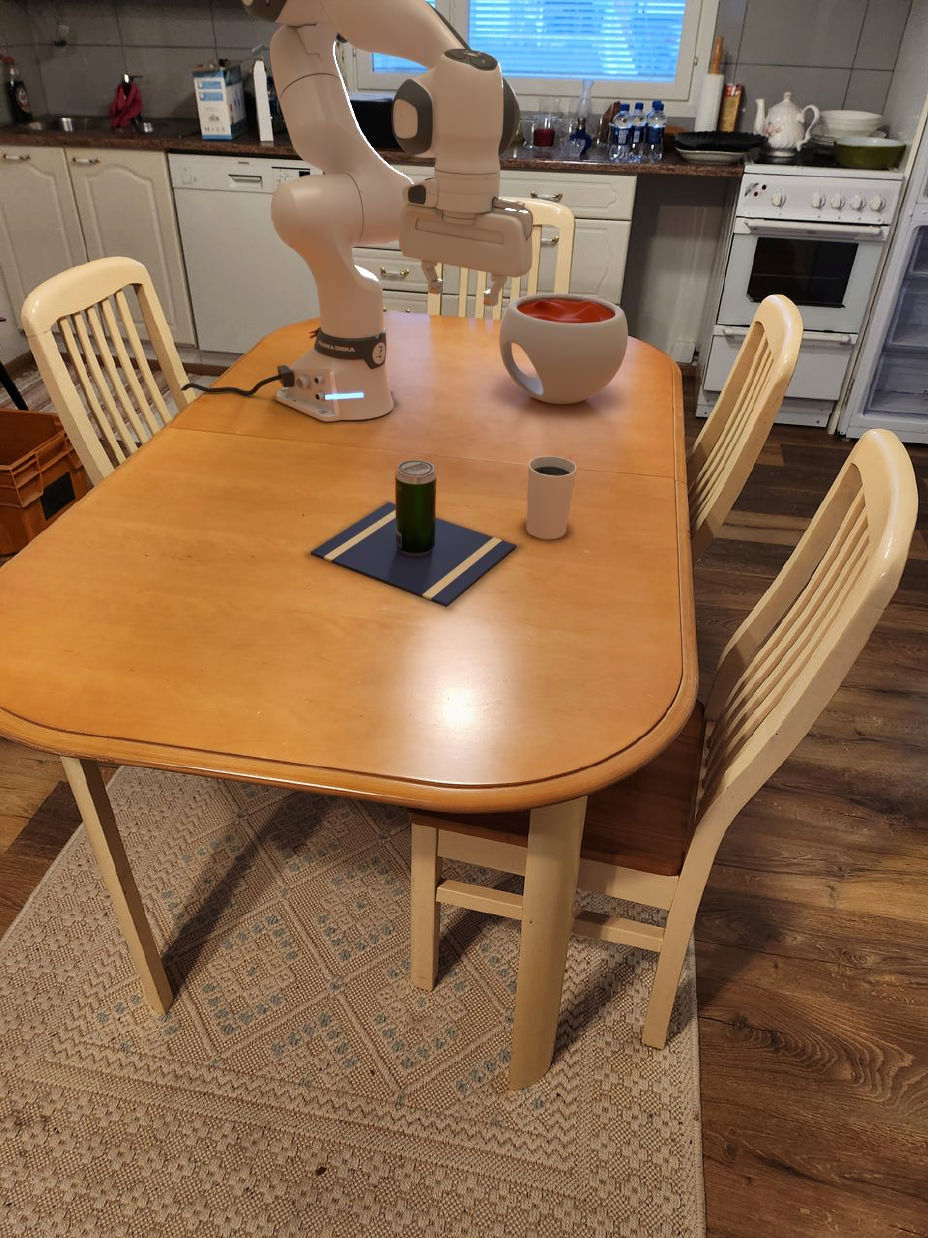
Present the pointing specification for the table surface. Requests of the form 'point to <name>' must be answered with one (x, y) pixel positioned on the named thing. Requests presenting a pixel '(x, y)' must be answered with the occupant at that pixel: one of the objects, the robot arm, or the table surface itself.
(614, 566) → the table surface
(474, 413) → the table surface
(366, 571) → the cloth
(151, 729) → the table surface
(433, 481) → the green drink can
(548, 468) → the white coffee cup
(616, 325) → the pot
